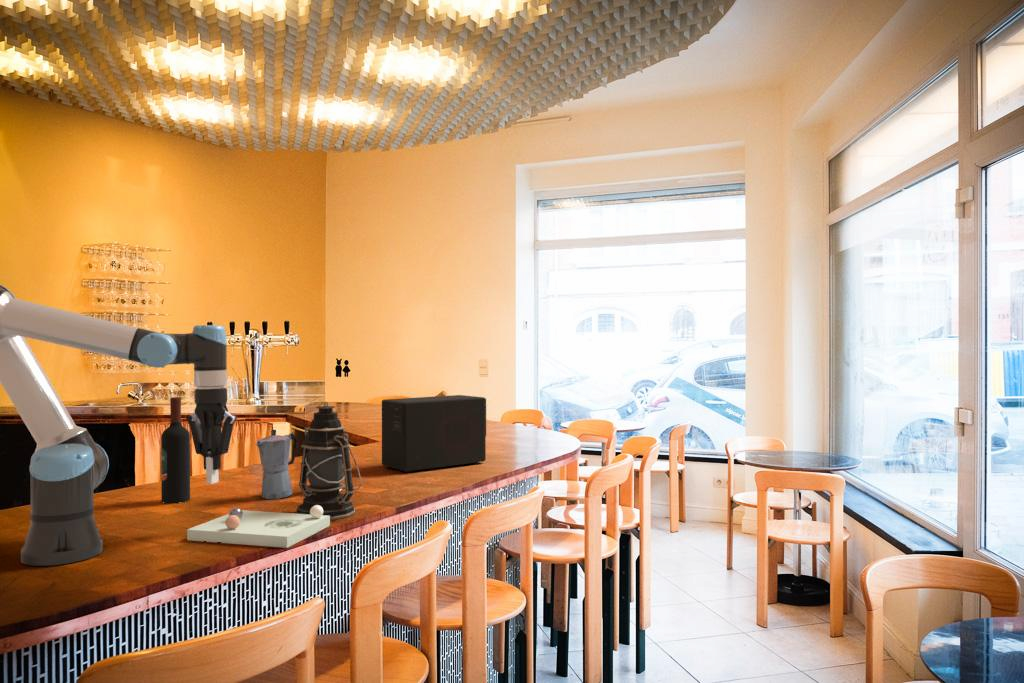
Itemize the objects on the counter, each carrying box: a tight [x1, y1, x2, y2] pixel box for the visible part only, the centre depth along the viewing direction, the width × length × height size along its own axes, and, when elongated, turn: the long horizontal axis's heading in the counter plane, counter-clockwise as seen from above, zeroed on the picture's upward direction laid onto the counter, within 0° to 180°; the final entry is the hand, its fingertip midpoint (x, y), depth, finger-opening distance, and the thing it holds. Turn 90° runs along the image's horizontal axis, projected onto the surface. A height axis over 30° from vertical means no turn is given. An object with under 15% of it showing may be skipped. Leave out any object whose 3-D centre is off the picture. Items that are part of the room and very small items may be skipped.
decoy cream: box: [310, 505, 323, 518], centre depth 181 cm, size 3×3×3 cm
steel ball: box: [228, 506, 243, 519], centre depth 178 cm, size 3×3×3 cm
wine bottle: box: [160, 396, 191, 504], centre depth 211 cm, size 8×8×30 cm
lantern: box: [295, 401, 363, 521], centre depth 196 cm, size 20×16×30 cm
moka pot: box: [255, 429, 299, 500], centre depth 218 cm, size 10×15×20 cm, turn 152°
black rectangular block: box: [381, 394, 487, 474], centre depth 272 cm, size 38×20×25 cm, turn 128°
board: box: [186, 509, 331, 549], centre depth 177 cm, size 20×26×2 cm
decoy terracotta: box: [225, 515, 240, 529], centre depth 171 cm, size 3×3×3 cm
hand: (212, 482), depth 180 cm, fingers closed
